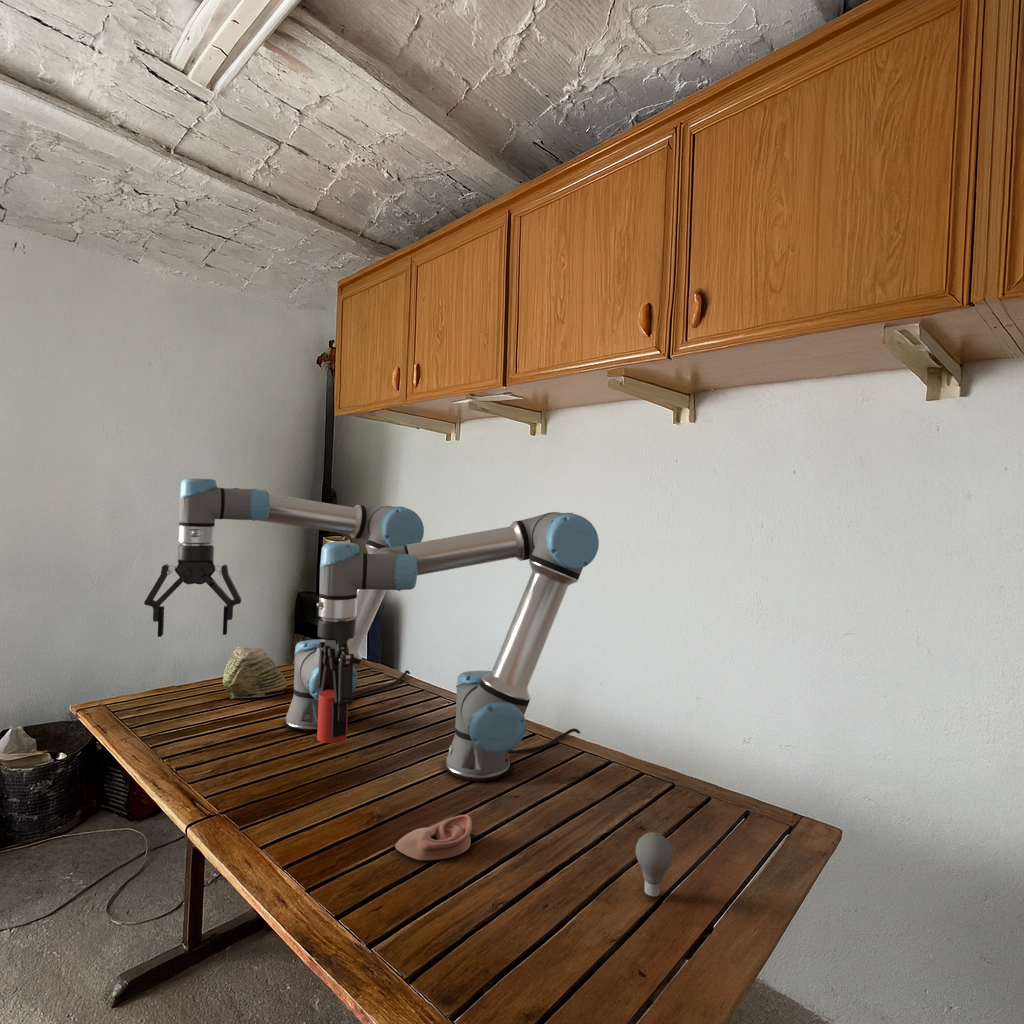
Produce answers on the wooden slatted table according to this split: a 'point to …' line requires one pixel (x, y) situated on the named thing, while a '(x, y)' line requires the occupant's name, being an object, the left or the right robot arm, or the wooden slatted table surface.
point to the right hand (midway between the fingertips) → (332, 730)
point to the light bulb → (653, 860)
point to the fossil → (252, 674)
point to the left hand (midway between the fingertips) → (193, 634)
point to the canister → (327, 718)
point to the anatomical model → (438, 839)
